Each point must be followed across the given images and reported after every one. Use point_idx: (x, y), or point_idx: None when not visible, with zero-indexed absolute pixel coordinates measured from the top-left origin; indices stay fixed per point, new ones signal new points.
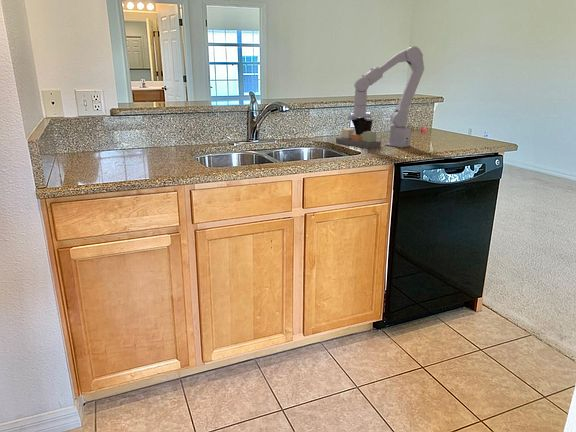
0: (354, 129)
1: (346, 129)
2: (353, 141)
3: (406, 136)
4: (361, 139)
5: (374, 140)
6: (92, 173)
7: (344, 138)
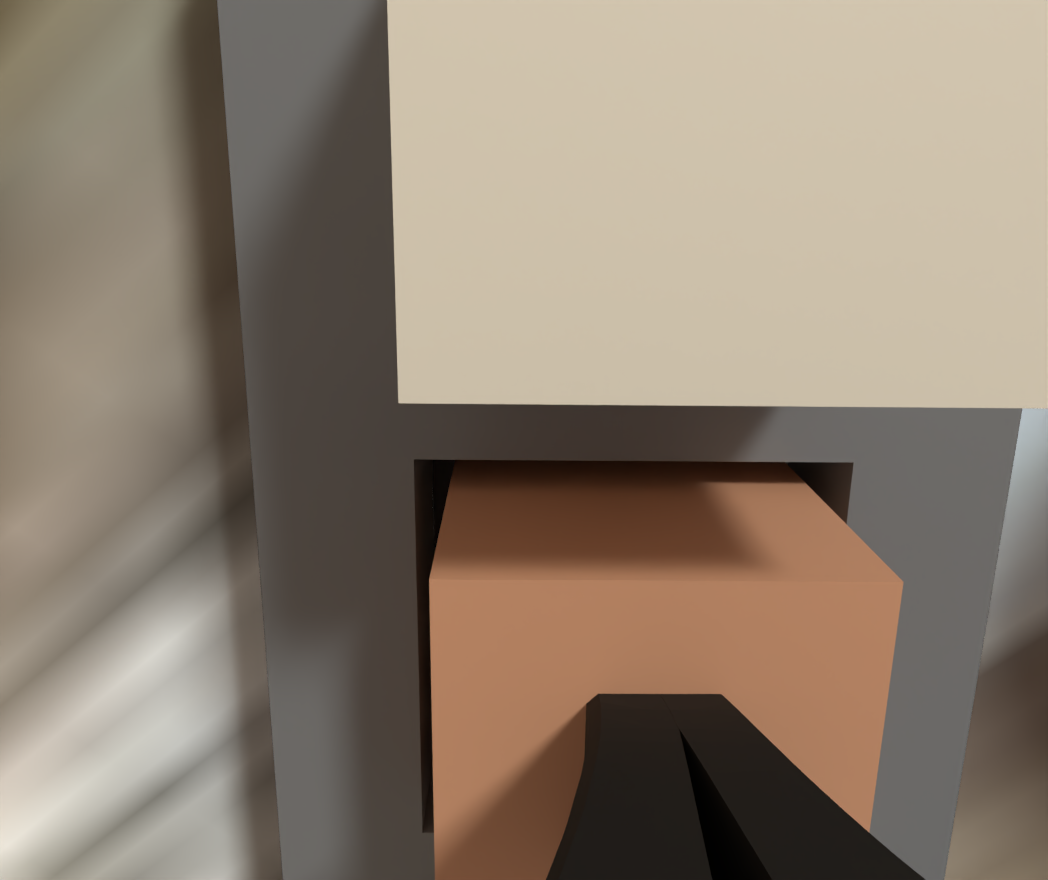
0: (1030, 405)
1: (426, 163)
2: (277, 712)
3: None
4: None
5: None
6: None
7: None
